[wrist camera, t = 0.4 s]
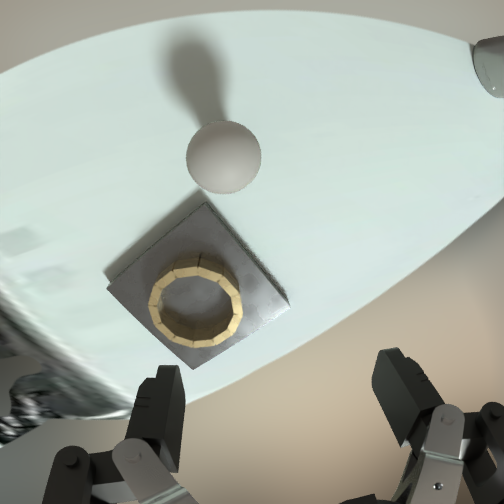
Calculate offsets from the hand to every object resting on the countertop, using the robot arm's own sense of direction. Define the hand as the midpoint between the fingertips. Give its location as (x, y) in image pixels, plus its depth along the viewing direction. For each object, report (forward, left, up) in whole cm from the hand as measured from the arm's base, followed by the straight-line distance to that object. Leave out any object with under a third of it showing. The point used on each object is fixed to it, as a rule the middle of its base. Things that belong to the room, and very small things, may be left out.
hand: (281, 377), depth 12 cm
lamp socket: (+11, +4, -25) cm, 28 cm away
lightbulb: (-2, -7, -25) cm, 26 cm away
